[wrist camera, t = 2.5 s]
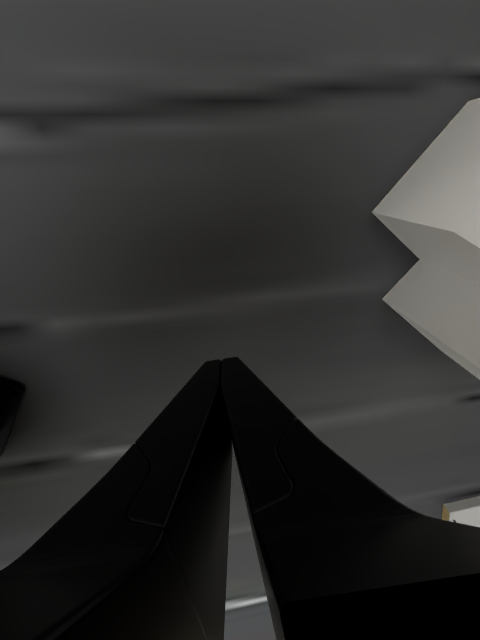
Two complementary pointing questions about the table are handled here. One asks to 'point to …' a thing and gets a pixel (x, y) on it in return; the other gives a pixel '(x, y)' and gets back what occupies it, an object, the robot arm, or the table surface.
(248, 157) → the table surface
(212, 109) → the table surface
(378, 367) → the table surface
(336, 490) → the robot arm
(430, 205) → the grey faceted lump
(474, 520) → the baseboard
